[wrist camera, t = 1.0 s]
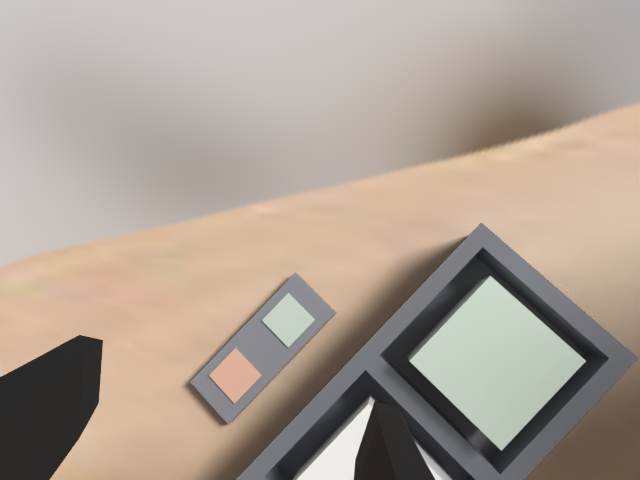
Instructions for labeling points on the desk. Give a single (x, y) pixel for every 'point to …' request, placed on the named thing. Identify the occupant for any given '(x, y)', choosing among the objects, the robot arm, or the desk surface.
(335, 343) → the desk surface
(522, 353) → the sage key
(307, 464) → the white key
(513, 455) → the grey divided tray
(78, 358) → the robot arm
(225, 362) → the card
